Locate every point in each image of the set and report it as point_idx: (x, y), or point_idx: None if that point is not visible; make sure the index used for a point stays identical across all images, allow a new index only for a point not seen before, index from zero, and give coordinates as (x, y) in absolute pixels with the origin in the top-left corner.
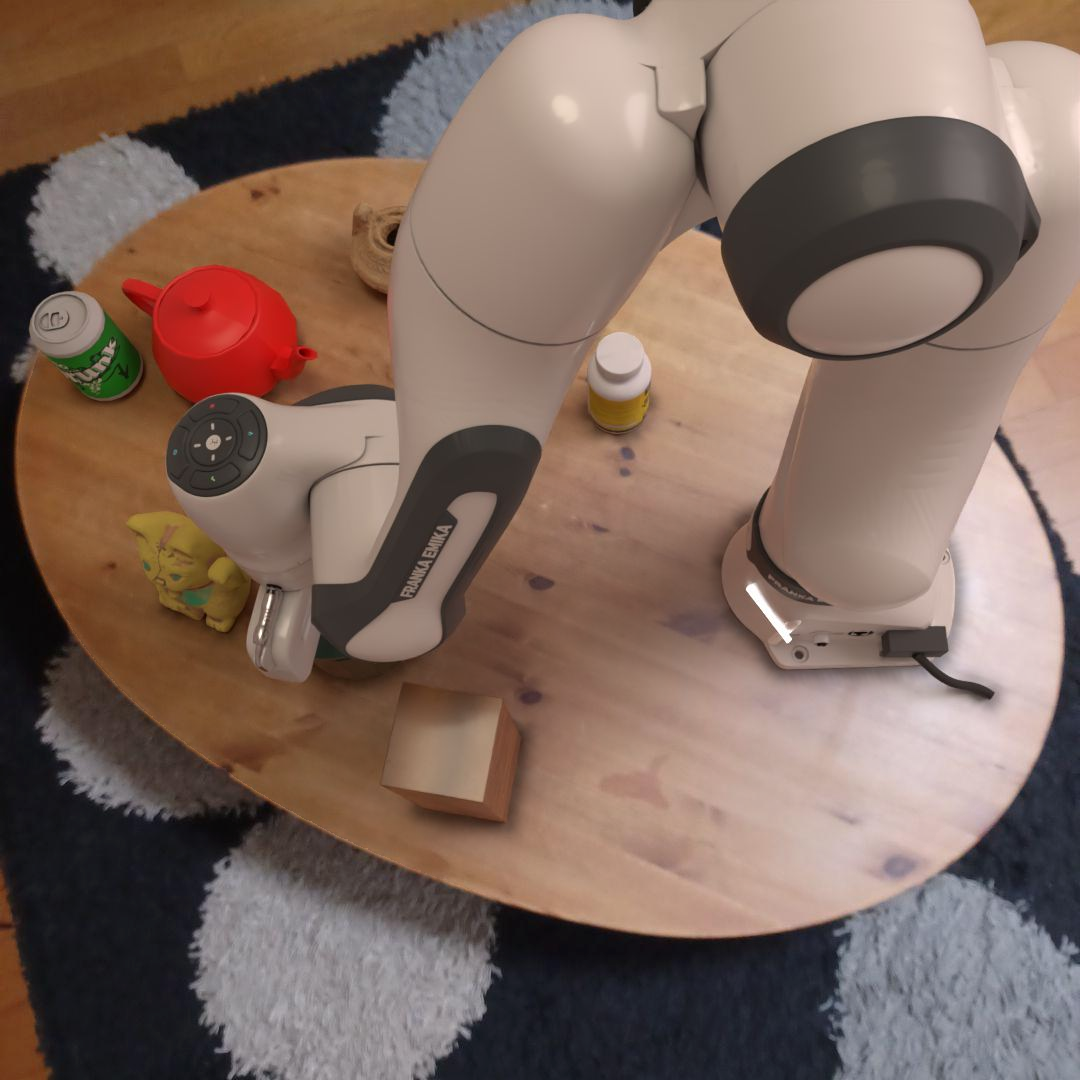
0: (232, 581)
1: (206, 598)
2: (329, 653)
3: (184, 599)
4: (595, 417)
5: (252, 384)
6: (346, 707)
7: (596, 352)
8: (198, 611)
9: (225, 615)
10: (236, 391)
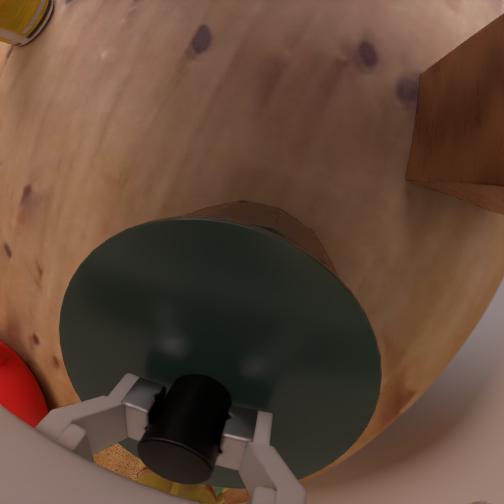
0: (202, 484)
1: None
2: (366, 403)
3: None
4: (28, 26)
5: (11, 386)
6: (368, 309)
7: None
8: None
9: None
10: (20, 400)
